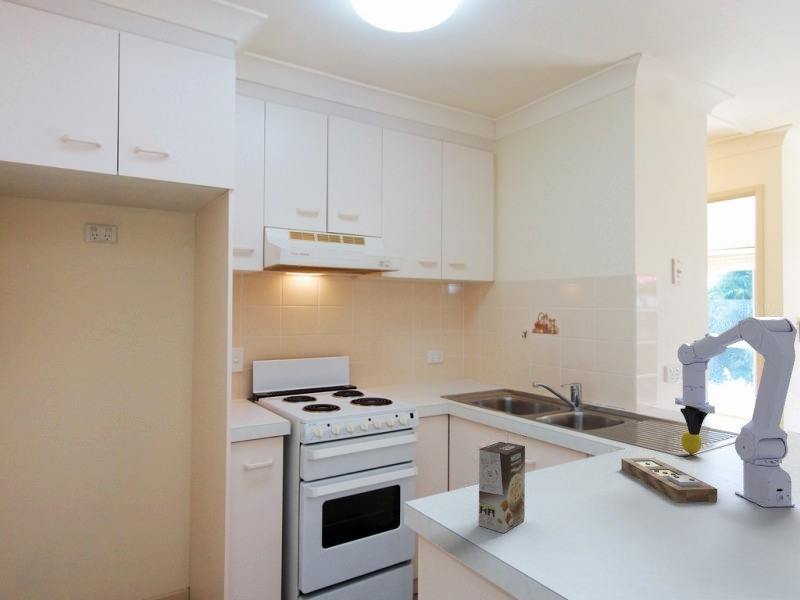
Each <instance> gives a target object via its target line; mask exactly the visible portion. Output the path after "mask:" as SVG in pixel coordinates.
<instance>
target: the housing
mask: <svg viewBox="0 0 800 600" xmlns="http://www.w3.org/2000/svg"><path fill="white" fill-rule="evenodd" d="M620 460H621V461H620V462H621V465H620V466H621V470H622V471H624V472H625V473H627V474H629V475H631V476H632V477H634V478H635V479H637V480H639V481H640V482H643V483H644V484H645V485H647V486H649V487H650V488H652V489H654V490H656V491H657V492H659V493H661V494H663V495H665V496H666V497H667V498H669V499H671V500H672V501H674V502H676V503H704V502H705V503H706V502H707V503H708V502H709V503H710V502H715V503H716V502H718V488H717V487H714V486H713V485H711V484H708V483H707V482H704V481H702V480H700V479H698V478H696V477H694V476H692V475H690V474H688V473H686V472H684V471H682V470H680V469H678V468H676V467H674V466H671V465H670V464H668V463H666V462H664V461H661V460H660V459H658V458H656V457H643V458H640V457H638V458H637V457H636V458H634V457H633V458H631V457H630V458H628V457H627V458H621V459H620ZM648 461H651V462H653V463H655V464H657V465H659V466H647V467H644V466H642V465H640V464H638V463H636V462H648ZM651 470H669V471H671V472H673V473H675V474H677V475H688V476H690V477H692V478H694V479H696V480H698V481H700V486H679V485H677V484H675V483H673V482H671V481H670V480H669V479H668V476H660V475H659V474H657V473H655V472H653V471H651Z"/></svg>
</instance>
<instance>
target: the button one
mask: <svg viewBox="0 0 800 600" xmlns="http://www.w3.org/2000/svg"><path fill="white" fill-rule="evenodd" d="M636 463H638V464H640V465H642V466H644V467H647V466H659V465H657V464H655V463H653V462H651V461H648V462H636Z"/></svg>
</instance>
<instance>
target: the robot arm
mask: <svg viewBox="0 0 800 600" xmlns="http://www.w3.org/2000/svg"><path fill="white" fill-rule="evenodd" d="M797 333H798V329H797V328H796V327H795V326H794V324H793V323H792V321H791V320H790V319H788V318H787V317H783V316H778V317H754V316H748V317H746V318H744V319H740V320H738V321H737V324H735V325H733V326H732V327H729V328H728V329H726V330H725V331H723V332H722V333H719V334H717V333H711V332H708V333H706V334H704V337H703V338H700V339H695V340H693V343H691V344H689V343H682V344H681V345H680V346H679V347H678V349H677V353H676V355H677V359H678V361H679V363H681V367H682V372H681V373H682V397H675V398H674V399H675V400H674V402H675V403H674V404H675V405H677V406H678V405H679V406H683V408H680V412H681V414H682V415H683V419H684V420H685V423H686V427H687V431H689V434H692V435H699V436H700V432H701V429H702V425H703V423H704V420H705V419H706V417H707V416H708V414H713V415H714V414H715V413H716V411H715V410H716V408H715V406H714V405H711V404H710V402H709V401H707V400H706V396H707V395H706V392H707V390H706V371H707V369H708V363H709V362H710V361H711V359H713V358H715V357H717V356H719V355H722V354H724V353H725V352H726V351H727V347H728V346H729V347H730V345H734V344H737V343H739V342H742V341H745V343H747V345H749V346H750V347H751V348H752V349H754V351H756V353H757V354H760V355H761V356H762V357H763V359H764V362H763V368H762V371H761V377H760V381H759V386H758V389H757V394H756V399H755V404H754V408H753V413H752V417H751V420H750V421H749V422H747V423H746V424H744V425H743V426H741V429H740V432H739V435H737V436H736V438H735V440H734V448H735V449H734V450H735V451H736V453H737V456H739V457H740V460H741V461H743V462H742V466H743V467H742V470H743V472H742V473H743V481H742V482H743V490H734V494H736V495H738V496H741V497H742V498H744V499H747V500H748V501H750V502H753V503H754V504H757V505H758V506H759V505H760V506H761V507H764V508H768V507H769V508H771V507H775V508H776V507H795V506H796V504H795V503H793V502H792V478H791V475H790V474H789V472H787V471H786V470H784V469H783V468H782V467H781V465H782V464H783V460H784V459H785V458H786V457H787V456H788V452H789V446H788V441H787V440H788V436H789V435H788V433H787V431H785V430H784V429H783V428H782V427H781V426H780V425H781V421H782V417H783V414H784V408H785V405H786V400H787V396H788V393H789V387H790V384H791V383H790V382H791V379H792V374H793V370H794V365H795V361H796V349H795V341H796V337H797ZM780 464H781V465H780Z"/></svg>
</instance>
